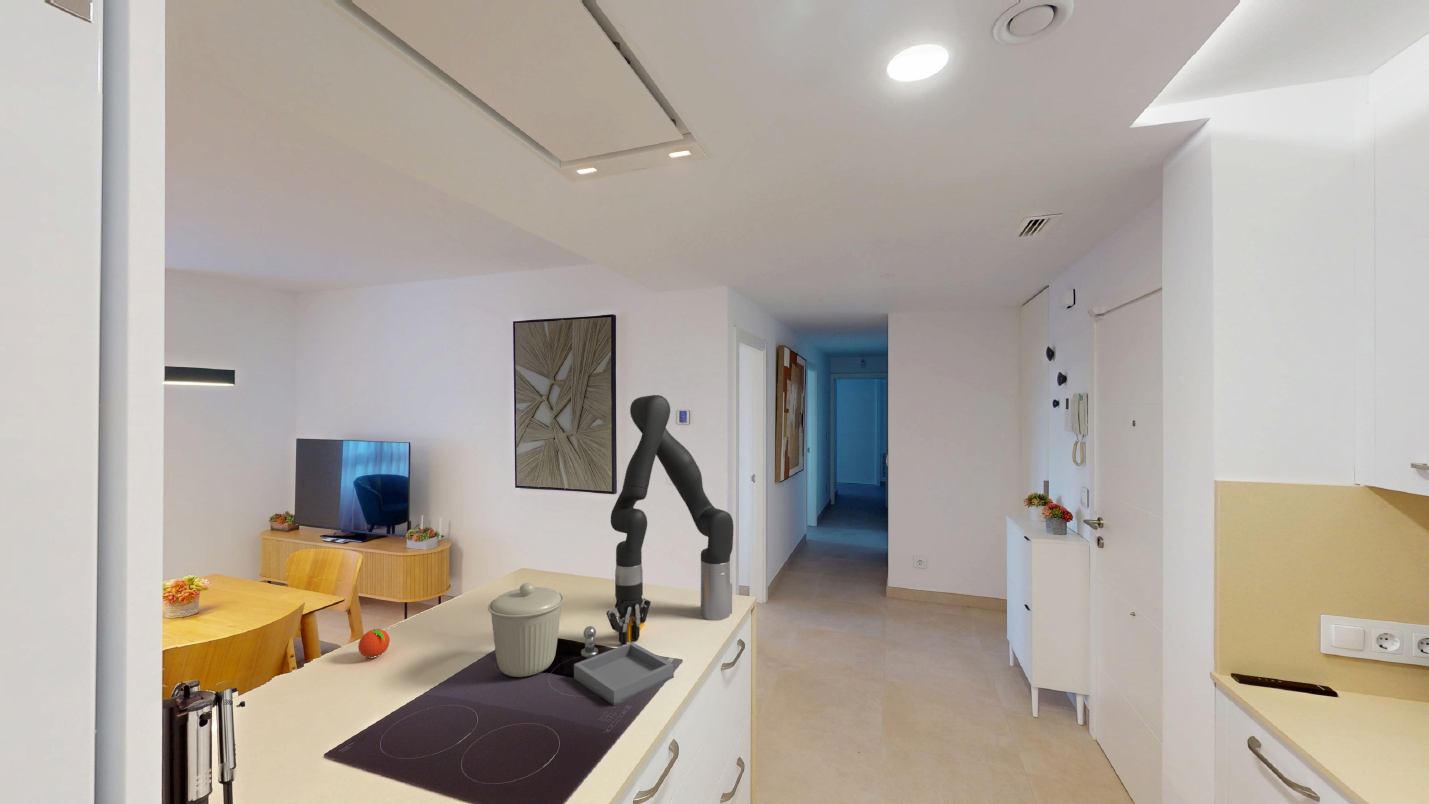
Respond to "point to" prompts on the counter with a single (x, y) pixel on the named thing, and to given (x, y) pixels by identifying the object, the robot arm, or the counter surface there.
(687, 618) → the counter surface
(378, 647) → the clementine
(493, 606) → the canister
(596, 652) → the door knob
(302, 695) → the counter surface
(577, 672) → the parts bin
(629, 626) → the pipe clamp
